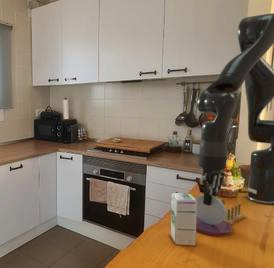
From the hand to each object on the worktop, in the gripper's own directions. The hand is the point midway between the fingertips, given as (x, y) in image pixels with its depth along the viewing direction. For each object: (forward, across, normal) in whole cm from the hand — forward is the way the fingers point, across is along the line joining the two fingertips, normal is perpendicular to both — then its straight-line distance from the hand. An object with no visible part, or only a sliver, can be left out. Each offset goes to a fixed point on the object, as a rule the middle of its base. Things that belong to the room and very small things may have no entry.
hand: (209, 203), depth 91 cm
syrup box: (+8, -16, 0) cm, 18 cm away
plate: (+2, 0, 0) cm, 2 cm away
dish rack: (+8, +12, 0) cm, 15 cm away
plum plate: (+8, 0, 0) cm, 8 cm away
